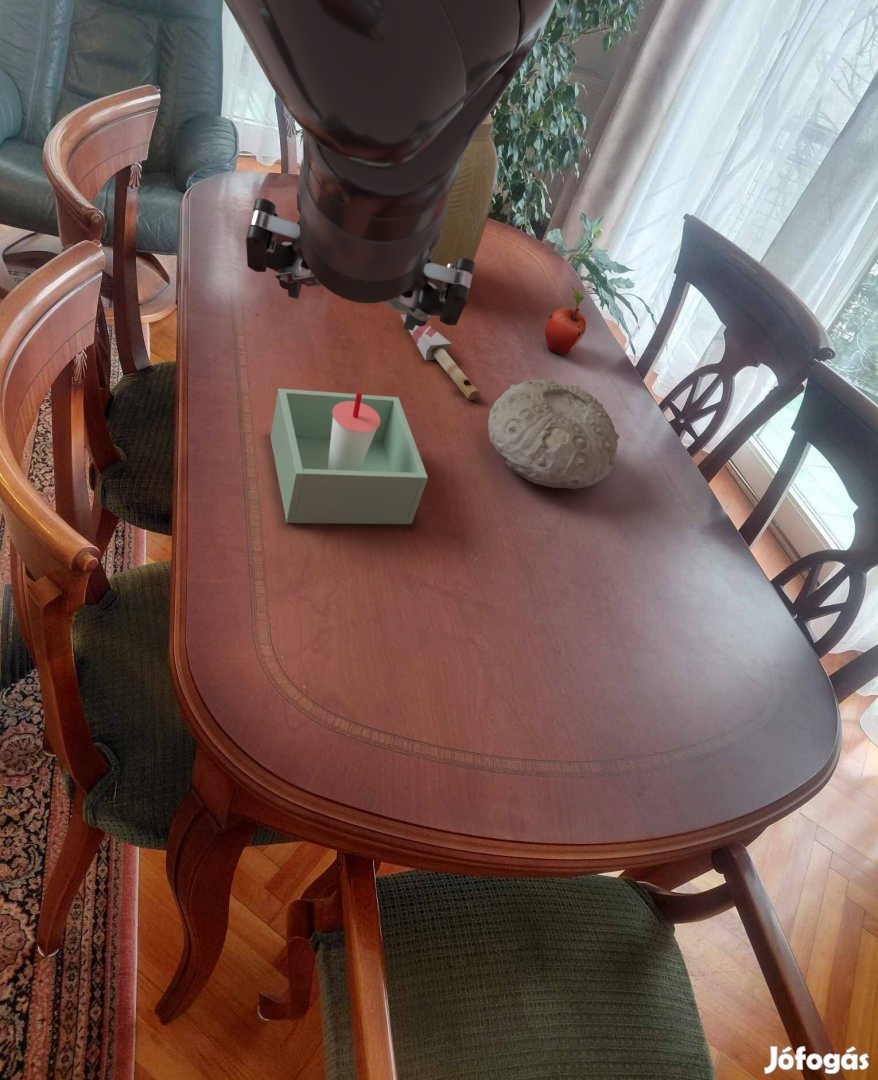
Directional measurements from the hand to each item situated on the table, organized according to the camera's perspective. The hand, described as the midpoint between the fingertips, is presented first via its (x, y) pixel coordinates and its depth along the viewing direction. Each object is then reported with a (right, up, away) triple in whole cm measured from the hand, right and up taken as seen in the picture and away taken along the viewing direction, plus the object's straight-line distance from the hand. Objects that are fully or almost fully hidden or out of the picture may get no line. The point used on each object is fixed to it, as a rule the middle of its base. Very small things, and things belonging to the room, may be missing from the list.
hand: (354, 300), depth 57 cm
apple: (+26, +14, +74) cm, 80 cm away
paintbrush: (+6, +9, +61) cm, 62 cm away
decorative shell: (+20, -7, +50) cm, 54 cm away
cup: (-5, -10, +35) cm, 37 cm away
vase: (+3, +29, +79) cm, 84 cm away
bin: (-6, -10, +36) cm, 38 cm away
